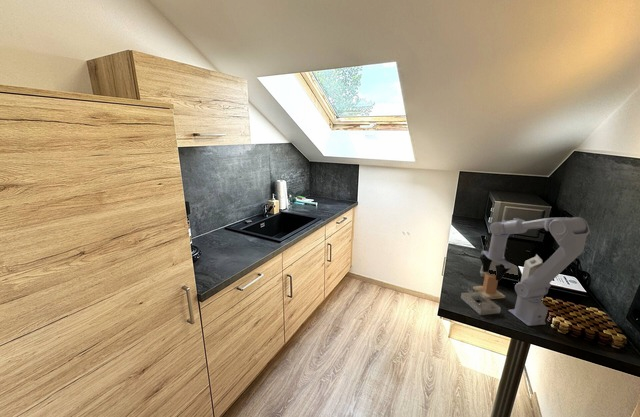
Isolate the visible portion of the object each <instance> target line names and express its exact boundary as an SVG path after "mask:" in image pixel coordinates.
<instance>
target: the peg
mask: <svg viewBox="0 0 640 417" xmlns="http://www.w3.org/2000/svg"><path fill="white" fill-rule="evenodd" d="M498 283H499V280H496V275H495V274H490V273H485V277H483V284H482V286H483V290H484V291H485V293H490V294H495V293H496V290H497V288H498Z"/></svg>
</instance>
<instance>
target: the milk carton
mask: <svg viewBox="0 0 640 417" xmlns="http://www.w3.org/2000/svg"><path fill="white" fill-rule="evenodd" d="M544 263H545V262H543V259H542V258H541V257H540V256H539V255H538V254H537V253H536V254H535V256H534V257H531V258H529V259H527V260H525V261H524V265H523V267H522V268H523V270H522V272H521V278H520V281H519V282H522V281H523V280H524V279H526V278H528V277H530V276H532V275H533V274H534V273H535V272H536V271H537V270H538V269H539V268H540V267H541V266H542V265H543V264H544ZM542 299H544V296H543V297H542Z"/></svg>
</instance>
